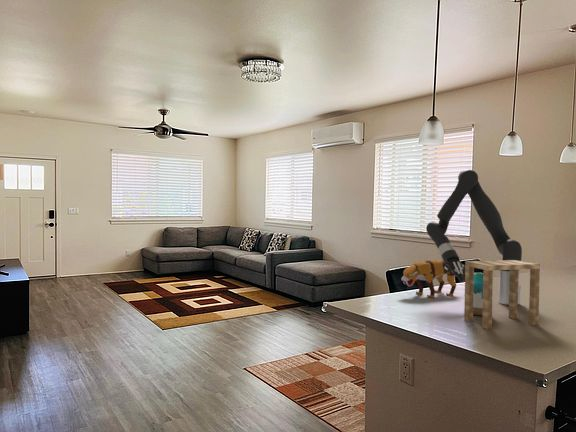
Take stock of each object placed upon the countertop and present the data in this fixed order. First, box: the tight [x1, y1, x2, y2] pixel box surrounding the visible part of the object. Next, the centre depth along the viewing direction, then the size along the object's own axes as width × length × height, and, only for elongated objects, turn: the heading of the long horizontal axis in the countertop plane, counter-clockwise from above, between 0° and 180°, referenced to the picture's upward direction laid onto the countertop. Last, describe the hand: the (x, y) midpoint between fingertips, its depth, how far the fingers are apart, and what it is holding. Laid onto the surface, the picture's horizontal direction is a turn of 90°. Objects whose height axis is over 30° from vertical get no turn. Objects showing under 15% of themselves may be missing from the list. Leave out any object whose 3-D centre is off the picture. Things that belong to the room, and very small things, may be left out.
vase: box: [473, 272, 483, 316], centre depth 201 cm, size 11×11×19 cm
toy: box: [400, 259, 457, 299], centre depth 245 cm, size 12×40×20 cm, turn 113°
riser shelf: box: [463, 259, 541, 330], centre depth 187 cm, size 26×14×26 cm, turn 105°
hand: (463, 281), depth 212 cm, fingers closed
